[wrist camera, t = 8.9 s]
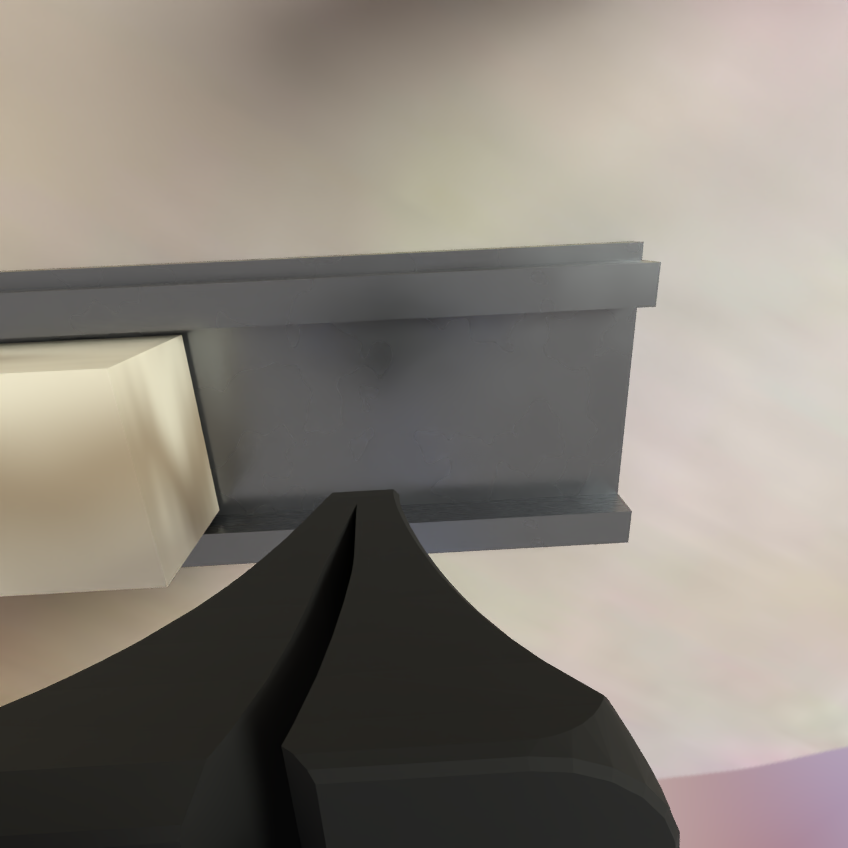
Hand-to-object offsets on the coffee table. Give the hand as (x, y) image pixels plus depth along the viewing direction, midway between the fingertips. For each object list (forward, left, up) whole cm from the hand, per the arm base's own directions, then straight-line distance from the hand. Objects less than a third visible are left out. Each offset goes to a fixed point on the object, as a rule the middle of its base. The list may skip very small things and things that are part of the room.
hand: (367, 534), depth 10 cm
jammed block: (0, +9, -6) cm, 11 cm away
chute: (0, +3, -8) cm, 8 cm away
